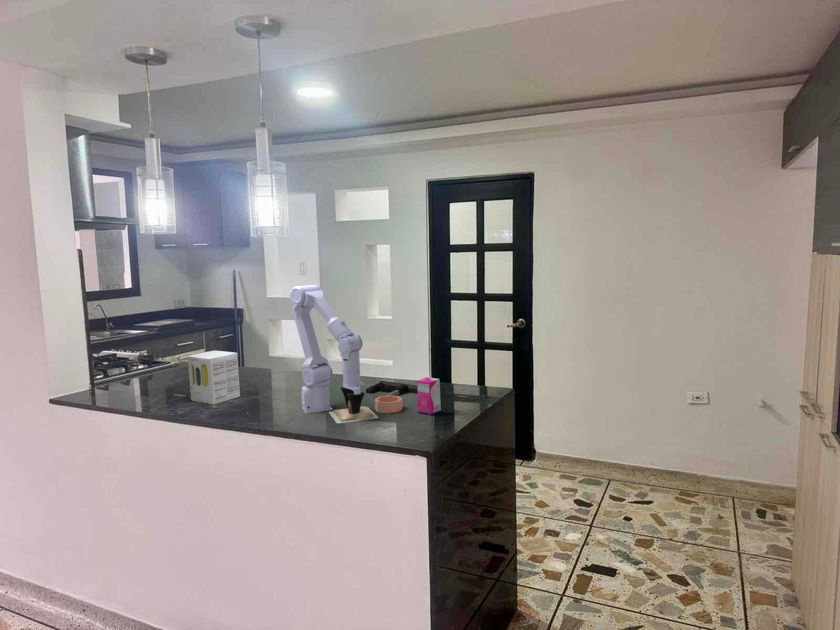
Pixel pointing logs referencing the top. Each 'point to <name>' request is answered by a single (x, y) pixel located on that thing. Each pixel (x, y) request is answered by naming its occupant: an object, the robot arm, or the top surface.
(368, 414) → the lid
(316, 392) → the robot arm
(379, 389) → the door handle
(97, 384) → the top surface
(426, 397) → the supplement box
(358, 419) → the mat
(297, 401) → the top surface
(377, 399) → the bowl
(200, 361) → the supplement box
